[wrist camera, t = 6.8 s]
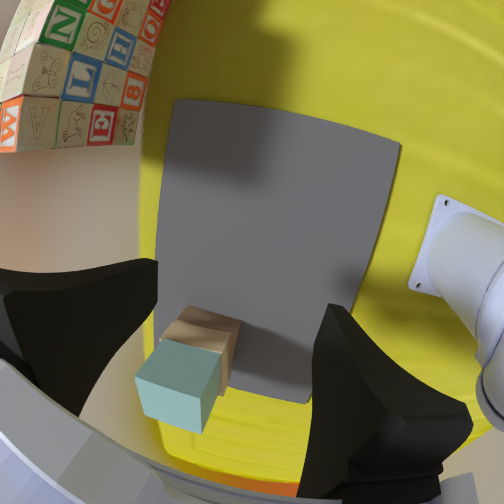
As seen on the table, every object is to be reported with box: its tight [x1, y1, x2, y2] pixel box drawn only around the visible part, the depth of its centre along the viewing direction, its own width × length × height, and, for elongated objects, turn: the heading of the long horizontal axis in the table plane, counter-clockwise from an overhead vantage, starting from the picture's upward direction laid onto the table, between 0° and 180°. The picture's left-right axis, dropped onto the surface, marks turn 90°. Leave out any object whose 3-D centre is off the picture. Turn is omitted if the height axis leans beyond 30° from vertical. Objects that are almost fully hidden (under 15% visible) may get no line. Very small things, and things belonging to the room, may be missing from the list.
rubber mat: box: [154, 99, 400, 404], centre depth 22 cm, size 17×26×1 cm, turn 169°
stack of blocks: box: [0, 0, 171, 152], centre depth 11 cm, size 21×6×12 cm, turn 169°
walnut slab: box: [176, 305, 242, 365], centre depth 23 cm, size 5×5×2 cm
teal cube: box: [134, 338, 221, 434], centre depth 17 cm, size 4×4×4 cm
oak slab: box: [159, 322, 231, 396], centre depth 21 cm, size 5×5×2 cm
